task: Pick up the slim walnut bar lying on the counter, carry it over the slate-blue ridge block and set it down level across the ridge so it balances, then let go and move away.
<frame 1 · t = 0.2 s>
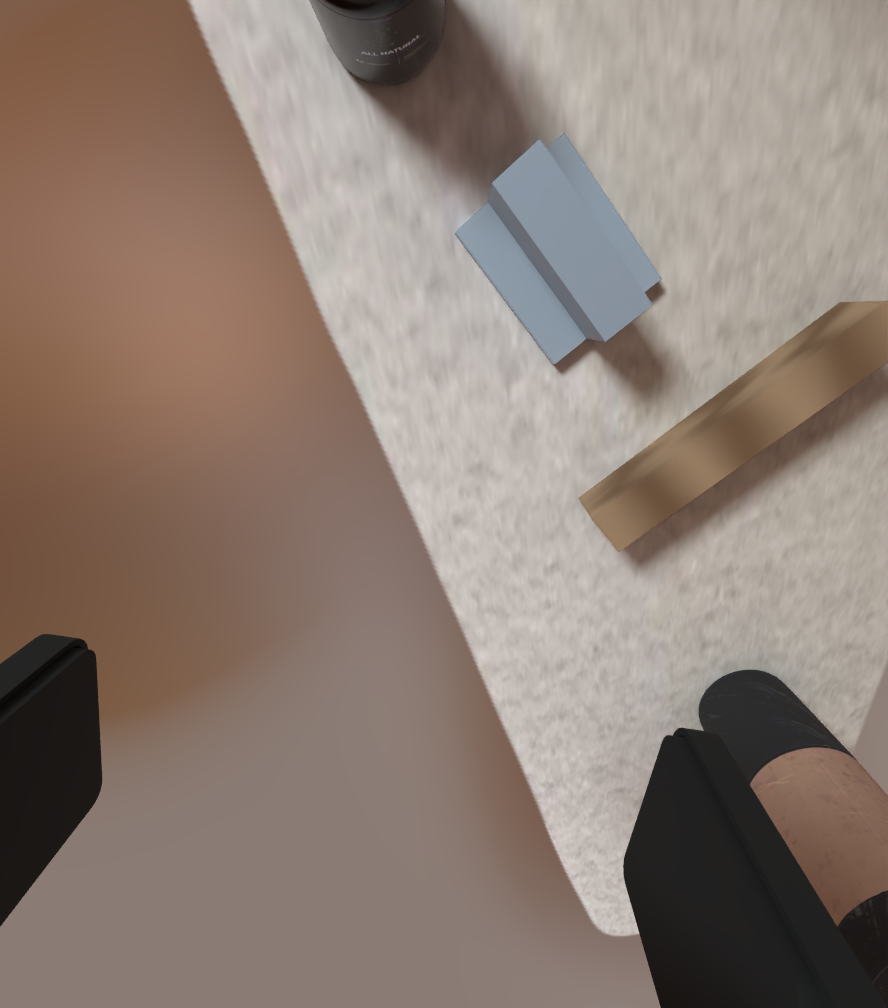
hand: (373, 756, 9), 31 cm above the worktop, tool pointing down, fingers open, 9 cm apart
supplement bottle: (386, 18, 32), on the worktop
travel mug: (742, 705, 45), on the worktop
fulcrum: (556, 257, 35), on the worktop
walnut bar: (711, 422, 38), on the worktop
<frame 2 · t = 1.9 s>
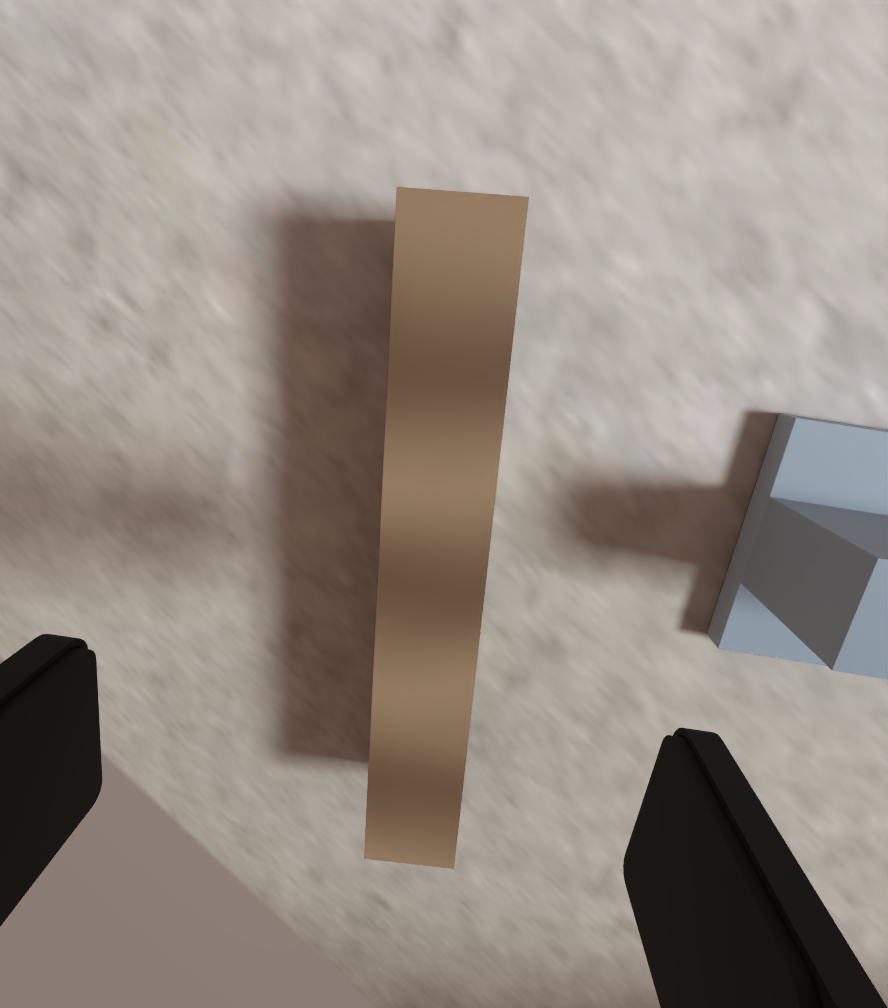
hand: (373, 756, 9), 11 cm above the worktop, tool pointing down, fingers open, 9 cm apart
fulcrum: (887, 553, 19), on the worktop
walnut bar: (440, 535, 20), on the worktop
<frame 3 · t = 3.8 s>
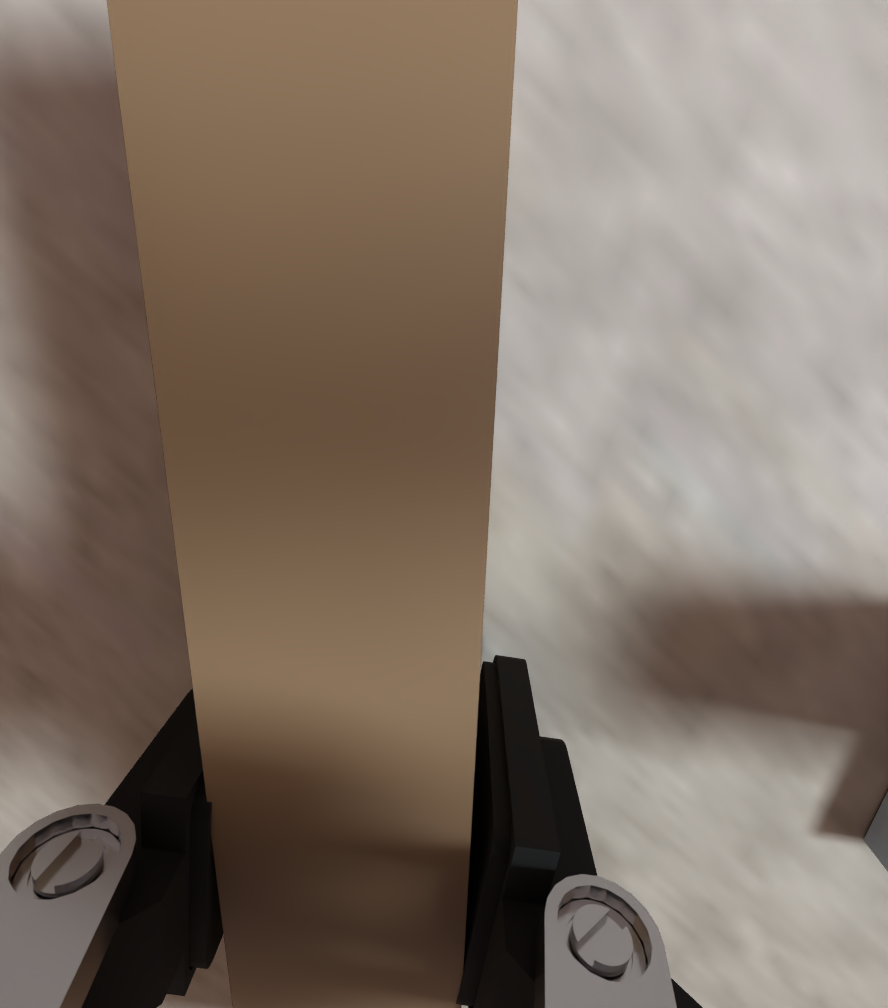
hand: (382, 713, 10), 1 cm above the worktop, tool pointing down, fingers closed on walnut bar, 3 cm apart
walnut bar: (389, 683, 11), on the worktop, touching gripper
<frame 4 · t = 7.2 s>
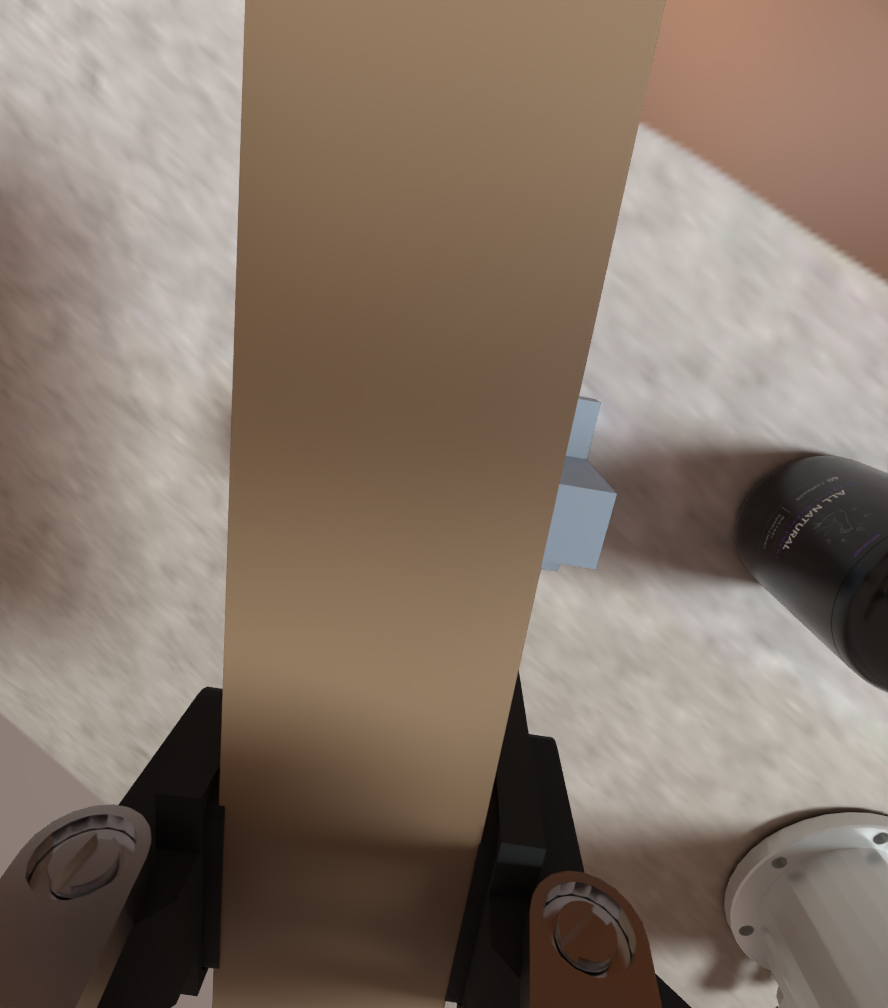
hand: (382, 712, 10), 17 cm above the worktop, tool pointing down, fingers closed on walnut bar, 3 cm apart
supplement bottle: (800, 521, 27), on the worktop
fulcrum: (467, 467, 26), on the worktop
walnut bar: (388, 673, 11), point 16 cm above the worktop, touching gripper
when the fingers open (7 cm above the worktop, at t = 10.4 s): walnut bar stays where it is, resting on fulcrum.
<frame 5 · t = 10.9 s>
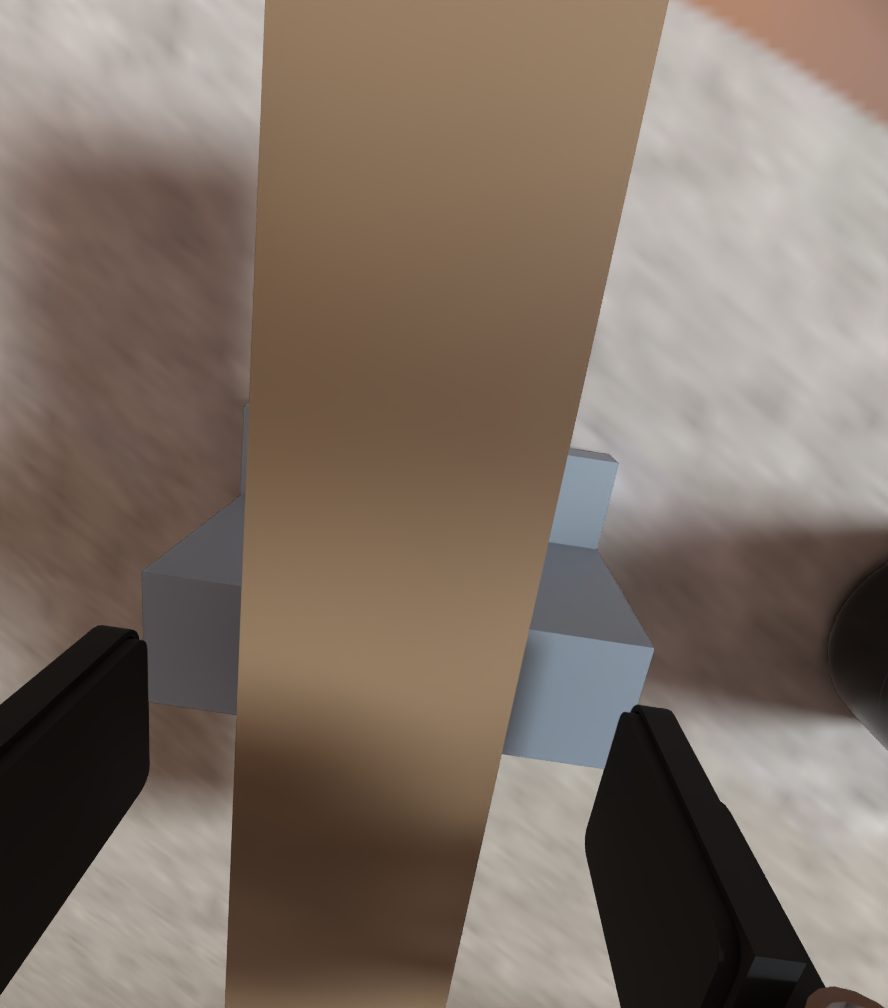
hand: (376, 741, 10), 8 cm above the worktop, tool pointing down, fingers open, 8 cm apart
fulcrum: (415, 557, 17), on the worktop
walnut bar: (393, 668, 11), point 6 cm above the worktop, touching fulcrum
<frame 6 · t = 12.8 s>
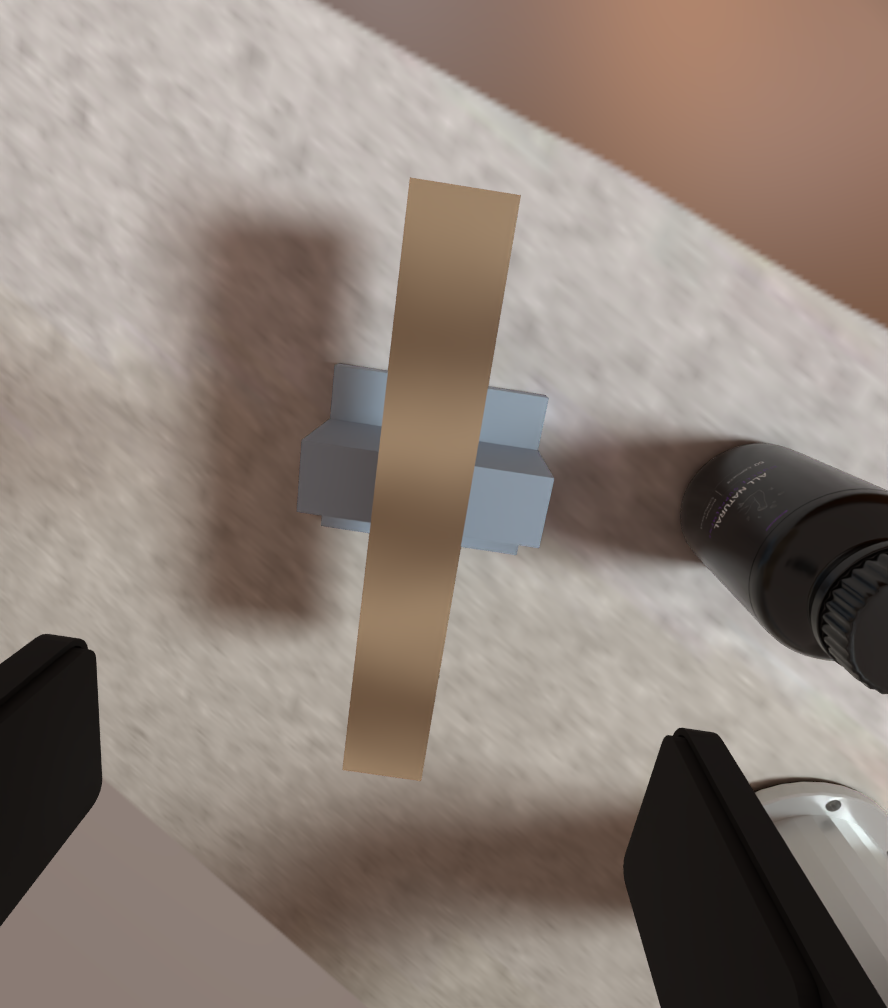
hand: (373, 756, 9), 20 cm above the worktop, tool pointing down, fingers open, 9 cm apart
supplement bottle: (741, 505, 29), on the worktop
fulcrum: (431, 459, 28), on the worktop
walnut bar: (425, 491, 22), point 6 cm above the worktop, touching fulcrum
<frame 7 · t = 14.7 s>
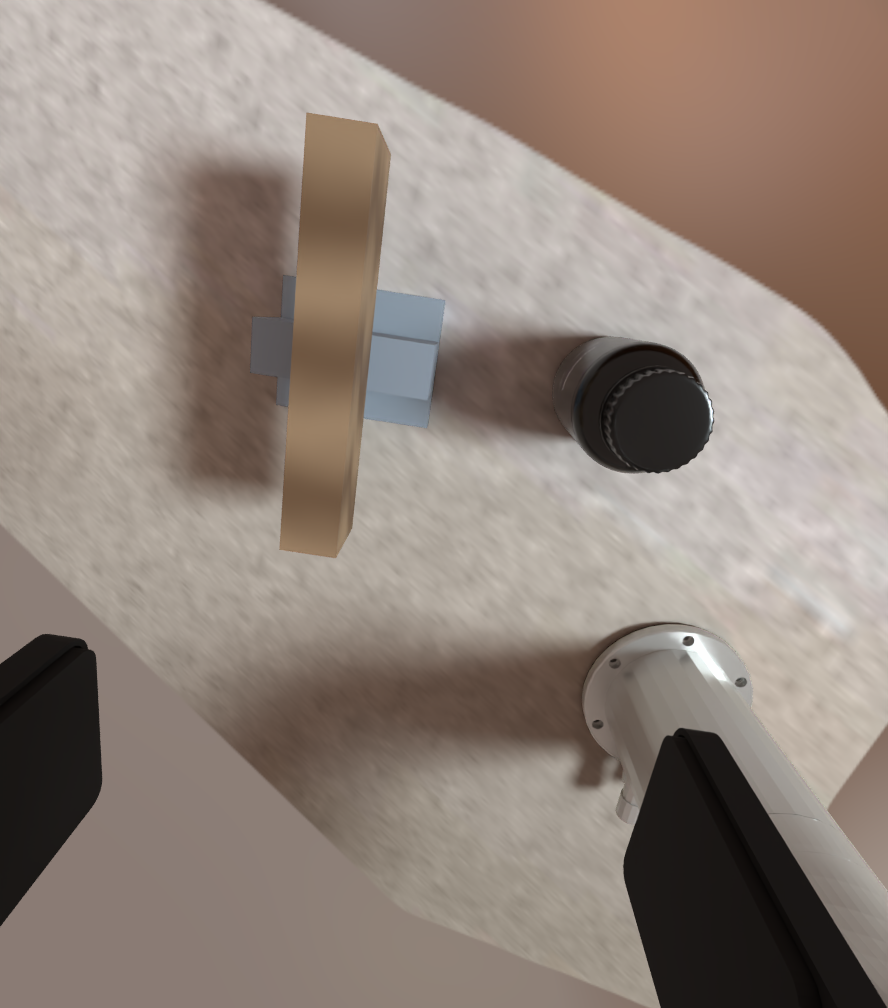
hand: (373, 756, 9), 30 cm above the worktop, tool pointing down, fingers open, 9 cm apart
supplement bottle: (601, 390, 37), on the worktop
fulcrum: (360, 353, 37), on the worktop
walnut bar: (342, 355, 31), point 6 cm above the worktop, touching fulcrum
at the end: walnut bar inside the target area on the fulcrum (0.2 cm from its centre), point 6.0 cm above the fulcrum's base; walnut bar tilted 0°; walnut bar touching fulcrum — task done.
